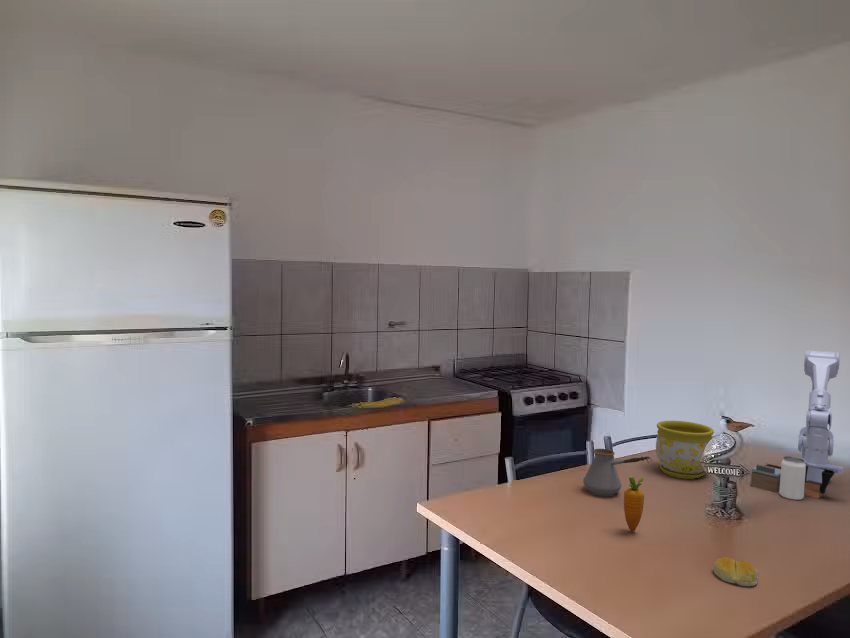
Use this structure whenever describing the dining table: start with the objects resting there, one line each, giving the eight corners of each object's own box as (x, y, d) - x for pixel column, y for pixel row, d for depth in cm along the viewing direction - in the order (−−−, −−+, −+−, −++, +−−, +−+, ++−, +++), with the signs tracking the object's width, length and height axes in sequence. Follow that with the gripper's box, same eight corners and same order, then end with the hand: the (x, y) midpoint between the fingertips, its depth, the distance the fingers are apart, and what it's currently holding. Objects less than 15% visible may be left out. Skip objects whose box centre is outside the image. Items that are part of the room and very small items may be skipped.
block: (807, 492, 190) (808, 479, 190) (822, 495, 187) (823, 483, 187) (803, 494, 188) (804, 482, 187) (818, 498, 185) (819, 486, 184)
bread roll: (715, 565, 139) (716, 548, 139) (758, 576, 134) (759, 559, 134) (710, 579, 132) (711, 562, 132) (756, 592, 127) (757, 573, 127)
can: (796, 493, 188) (799, 456, 188) (807, 501, 182) (810, 462, 181) (775, 492, 189) (777, 455, 188) (785, 499, 183) (788, 461, 182)
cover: (759, 466, 199) (759, 460, 199) (784, 472, 194) (785, 465, 193) (751, 471, 194) (752, 464, 194) (777, 477, 189) (778, 470, 188)
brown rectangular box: (766, 476, 204) (767, 463, 204) (791, 482, 199) (792, 469, 199) (750, 485, 195) (751, 471, 194) (776, 492, 189) (777, 478, 189)
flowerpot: (650, 463, 216) (652, 418, 215) (703, 467, 212) (706, 422, 211) (659, 479, 198) (662, 431, 197) (717, 484, 195) (720, 435, 194)
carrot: (641, 529, 157) (645, 474, 156) (642, 537, 153) (645, 480, 152) (622, 526, 159) (625, 471, 158) (621, 534, 154) (624, 477, 153)
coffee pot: (575, 490, 186) (577, 443, 185) (596, 483, 193) (598, 437, 192) (637, 512, 169) (640, 460, 168) (658, 503, 177) (661, 453, 176)
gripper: (786, 445, 189) (783, 486, 190) (840, 456, 178) (837, 500, 179) (793, 441, 194) (790, 482, 195) (846, 451, 183) (843, 494, 184)
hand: (813, 490), depth 187 cm, fingers open, 5 cm apart
